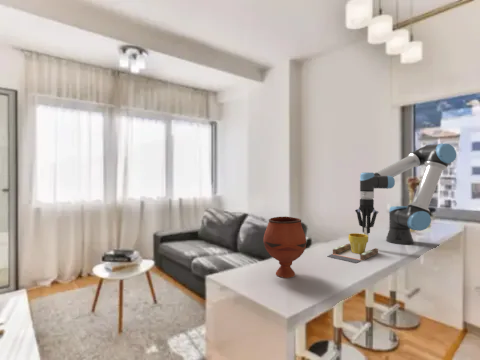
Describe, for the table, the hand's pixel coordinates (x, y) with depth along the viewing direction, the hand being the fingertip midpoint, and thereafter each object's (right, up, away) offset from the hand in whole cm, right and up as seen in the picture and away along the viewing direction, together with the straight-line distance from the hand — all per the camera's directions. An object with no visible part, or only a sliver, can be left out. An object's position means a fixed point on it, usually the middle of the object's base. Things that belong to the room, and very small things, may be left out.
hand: (366, 238), depth 172 cm
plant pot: (-8, -7, -7) cm, 12 cm away
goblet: (-54, -8, -42) cm, 69 cm away
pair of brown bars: (-10, -6, -10) cm, 15 cm away
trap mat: (-20, -7, -19) cm, 28 cm away
